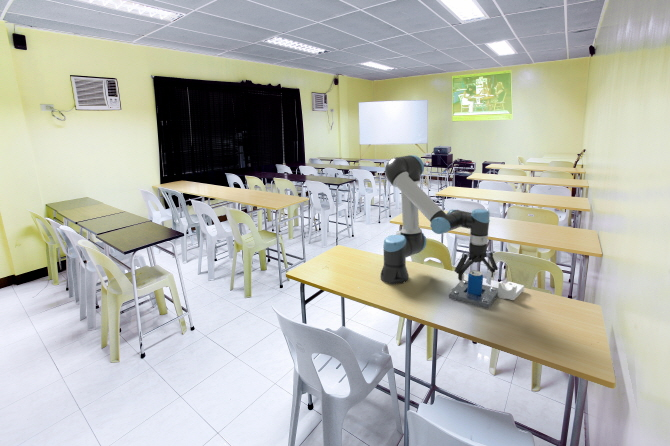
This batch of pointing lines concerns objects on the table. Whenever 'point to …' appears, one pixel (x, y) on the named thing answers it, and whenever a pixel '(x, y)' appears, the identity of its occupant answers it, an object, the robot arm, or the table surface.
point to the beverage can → (475, 283)
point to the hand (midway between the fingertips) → (474, 284)
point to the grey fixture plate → (483, 301)
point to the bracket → (509, 290)
